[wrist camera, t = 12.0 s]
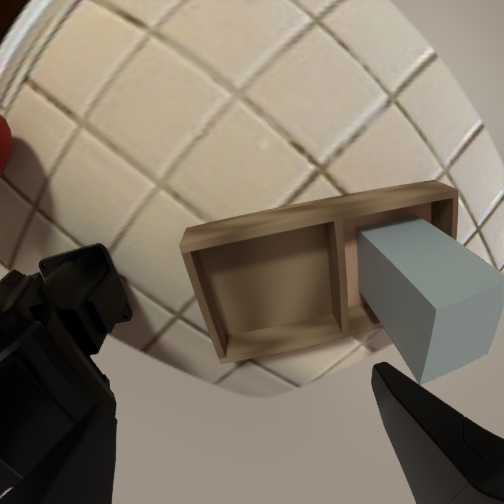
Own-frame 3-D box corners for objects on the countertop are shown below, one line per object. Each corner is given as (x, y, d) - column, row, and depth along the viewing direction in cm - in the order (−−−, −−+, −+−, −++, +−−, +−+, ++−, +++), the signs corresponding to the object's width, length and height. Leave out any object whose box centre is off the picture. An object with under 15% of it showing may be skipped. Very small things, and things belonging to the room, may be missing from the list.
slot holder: (221, 337, 24) (220, 363, 21) (186, 228, 20) (179, 245, 17) (430, 286, 23) (448, 304, 20) (434, 179, 19) (458, 189, 17)
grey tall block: (358, 289, 22) (419, 385, 13) (355, 227, 20) (436, 309, 11) (414, 274, 22) (487, 353, 13) (415, 214, 20) (509, 279, 11)
